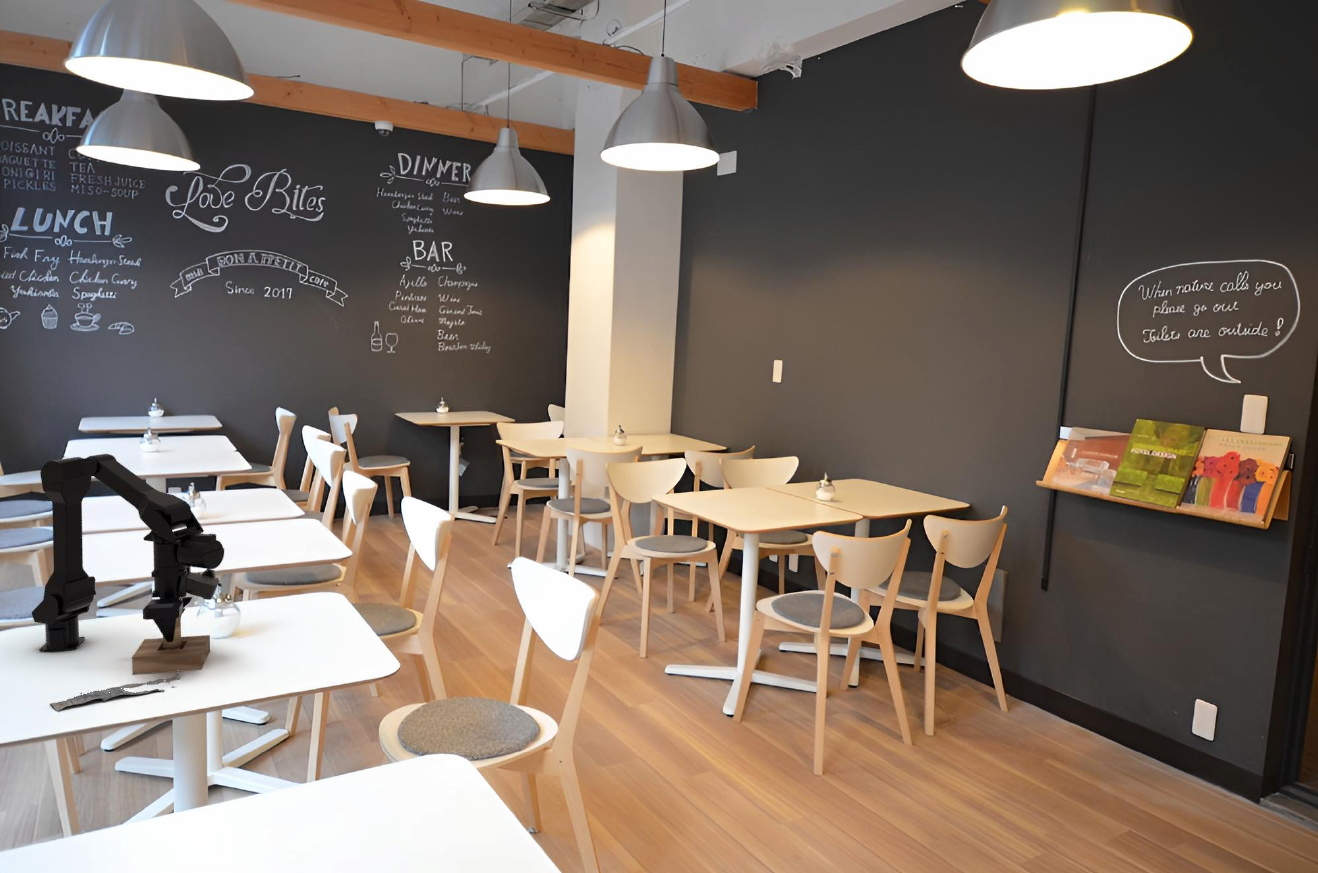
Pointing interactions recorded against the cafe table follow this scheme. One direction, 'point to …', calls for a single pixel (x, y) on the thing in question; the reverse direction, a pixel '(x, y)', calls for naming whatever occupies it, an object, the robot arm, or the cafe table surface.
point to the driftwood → (113, 692)
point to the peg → (177, 638)
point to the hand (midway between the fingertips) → (172, 638)
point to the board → (171, 655)
